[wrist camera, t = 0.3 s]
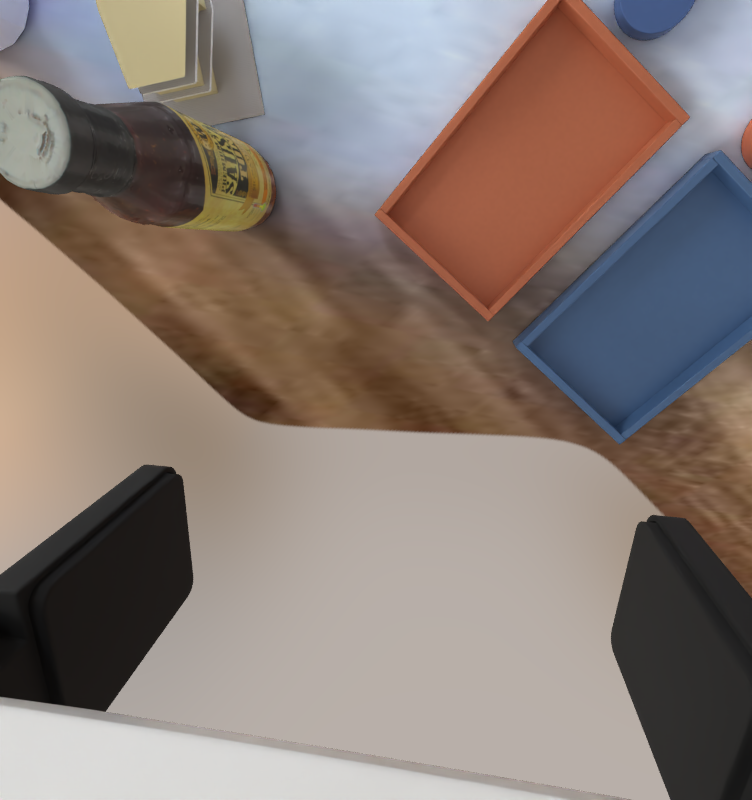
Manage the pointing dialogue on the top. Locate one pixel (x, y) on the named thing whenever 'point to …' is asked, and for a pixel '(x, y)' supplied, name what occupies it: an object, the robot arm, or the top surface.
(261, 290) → the top surface
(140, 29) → the stacked layers on plate
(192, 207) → the sauce bottle
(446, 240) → the terracotta tray
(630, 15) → the blue spoon
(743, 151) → the terracotta spoon
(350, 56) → the top surface
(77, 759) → the robot arm
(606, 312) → the blue tray
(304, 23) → the top surface
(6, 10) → the soap bottle
